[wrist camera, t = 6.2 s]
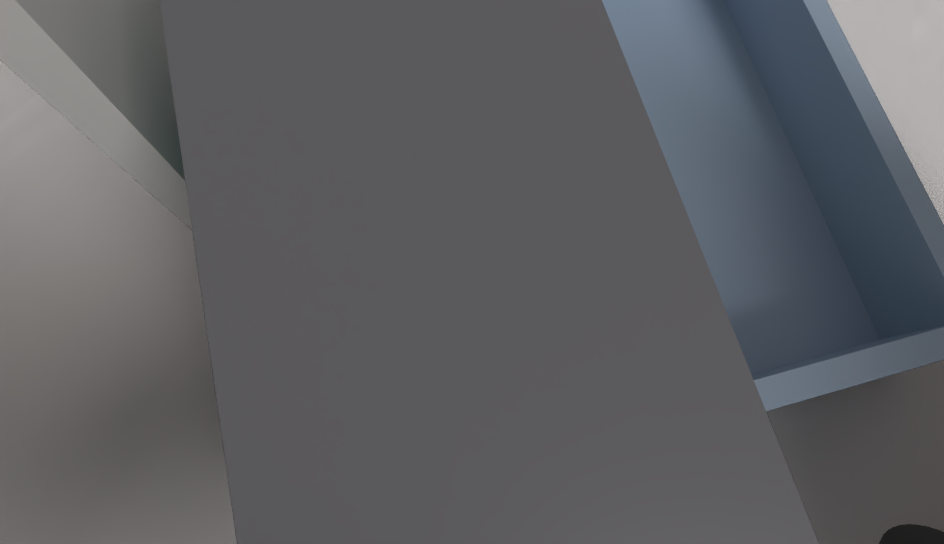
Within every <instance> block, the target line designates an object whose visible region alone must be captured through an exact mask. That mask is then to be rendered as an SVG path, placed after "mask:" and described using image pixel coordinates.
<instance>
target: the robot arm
mask: <svg viewBox="0 0 944 544" xmlns="http://www.w3.org/2000/svg"><path fill="white" fill-rule="evenodd" d="M879 544H944V532H942V531H940V530H937V529H934V528H930V527H927V526H921V525H911V524H907V525H899V526H896V527H893V528H891V529H889V530H888V531H887V532H886V533H885V534H884V535H883V537H882V539H881V541H880V543H879Z"/></svg>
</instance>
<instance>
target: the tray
mask: <svg viewBox="0 0 944 544" xmlns="http://www.w3.org/2000/svg"><path fill="white" fill-rule="evenodd" d="M602 2H603V4H604V7H605V9H606V12H607V14H608V17H609V19H610V22H611V24H612V27H613V29H614V32H615V34H616V37H617V39H618V42H619V44H620V47H621V49H622V52H623V54H624V57H625V59H626V62H627V64H628V67H629V69H630V72H631V74H632V77H633V79H634V82H635V84H636V87H637V89H638V92H639V94H640V97H641V99H642V102H643V104H644V107H645V109H646V112H647V114H648V117H649V119H650V122H651V124H652V127H653V129H654V132H655V135H656V137H657V140H658V142H659V145H660V147H661V150H662V152H663V155H664V157H665V160H666V162H667V165H668V167H669V170H670V172H671V175H672V177H673V180H674V182H675V185H676V187H677V190H678V192H679V195H680V197H681V200H682V202H683V205H684V207H685V210H686V212H687V215H688V217H689V220H690V222H691V225H692V227H693V230H694V232H695V235H696V237H697V240H698V242H699V245H700V247H701V250H702V252H703V255H704V257H705V260H706V262H707V265H708V267H709V270H710V272H711V275H712V277H713V280H714V282H715V285H716V287H717V290H718V292H719V295H720V297H721V300H722V302H723V305H724V307H725V310H726V312H727V315H728V317H729V320H730V322H731V325H732V327H733V330H734V332H735V335H736V337H737V340H738V342H739V345H740V347H741V350H742V352H743V355H744V357H745V360H746V362H747V365H748V367H749V370H750V372H751V375H752V377H753V380H754V382H755V385H756V387H757V390H758V392H759V395H760V397H761V400H762V402H763V405H764V407H765V410H766V411H769V410H773V409H776V408H780V407H783V406H787V405H790V404H793V403H797V402H800V401H804V400H807V399H811V398H814V397H818V396H821V395H824V394H828V393H831V392H835V391H838V390H842V389H845V388H848V387H852V386H855V385H859V384H862V383H866V382H869V381H872V380H876V379H879V378H883V377H886V376H890V375H893V374H896V373H900V372H903V371H907V370H910V369H914V368H917V367H921V366H924V365H927V364H931V363H934V362H938V361H941V360H944V225H943V223H942V221H941V219H940V217H939V215H938V213H937V211H936V209H935V208H934V206H933V204H932V202H931V200H930V198H929V196H928V194H927V192H926V190H925V188H924V186H923V185H922V183H921V181H920V179H919V177H918V175H917V173H916V171H915V169H914V167H913V165H912V163H911V162H910V160H909V158H908V156H907V154H906V152H905V150H904V148H903V146H902V144H901V142H900V140H899V138H898V137H897V135H896V133H895V131H894V129H893V127H892V125H891V123H890V121H889V119H888V117H887V115H886V114H885V112H884V110H883V108H882V106H881V104H880V102H879V100H878V98H877V96H876V94H875V92H874V91H873V89H872V87H871V85H870V83H869V81H868V79H867V77H866V75H865V73H864V71H863V69H862V67H861V66H860V64H859V62H858V60H857V58H856V56H855V54H854V52H853V50H852V48H851V46H850V44H849V43H848V41H847V39H846V37H845V35H844V33H843V31H842V29H841V27H840V25H839V23H838V21H837V20H836V18H835V16H834V14H833V12H832V10H831V8H830V6H829V4H828V2H827V0H602Z"/></svg>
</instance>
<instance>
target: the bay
mask: <svg viewBox="0 0 944 544" xmlns="http://www.w3.org/2000/svg"><path fill="white" fill-rule="evenodd" d="M0 61H2V62H3V63H4V64H5V65H6V66H7V67H8V68H9V69H11V70H12V71H13V72H14V73H15V74H16V75H17V76H18V77H20V78H21V79H22V80H23V81H24V82H25V83H26V84H28V85H29V86H30V87H31V88H32V89H33V90H34V91H35V92H37V93H38V94H39V95H40V96H41V97H42V98H43V99H44V100H46V101H47V102H48V103H49V104H50V105H51V106H52V107H54V108H55V109H56V110H57V111H58V112H59V113H60V114H61V115H63V116H64V117H65V118H66V119H67V120H68V121H69V122H70V123H72V124H73V125H74V126H75V127H76V128H77V129H78V130H80V131H81V132H82V133H83V134H84V135H85V136H86V137H87V138H89V139H90V140H91V141H92V142H93V143H94V144H95V145H96V146H98V147H99V148H100V149H101V150H102V151H103V152H104V153H106V154H107V155H108V156H109V157H110V158H111V159H112V160H113V161H115V162H116V163H117V164H118V165H119V166H120V167H121V168H122V169H124V170H125V171H126V172H127V173H128V174H129V175H130V176H132V177H133V178H134V179H135V180H136V181H137V182H138V183H139V184H141V185H142V186H143V187H144V188H145V189H146V190H147V191H148V192H150V193H151V194H152V195H153V196H154V197H155V198H156V199H158V200H159V201H160V202H161V203H162V204H163V205H164V206H165V207H167V208H168V209H169V210H170V211H171V212H172V213H173V214H174V215H176V216H177V217H178V218H179V219H180V220H181V221H182V222H184V223H185V224H186V225H187V226H188V227H189V228H190V229H191V230H192V225H191V218H190V211H189V204H188V197H187V190H186V183H185V176H184V169H183V162H182V155H181V148H180V141H179V134H178V127H177V120H176V113H175V106H174V99H173V92H172V85H171V78H170V71H169V64H168V57H167V50H166V43H165V36H164V29H163V22H162V15H161V8H160V1H159V0H0Z"/></svg>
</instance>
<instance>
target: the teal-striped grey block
mask: <svg viewBox="0 0 944 544" xmlns="http://www.w3.org/2000/svg"><path fill="white" fill-rule="evenodd" d="M159 1H160V8H161V15H162V22H163V29H164V36H165V43H166V50H167V57H168V64H169V71H170V78H171V85H172V92H173V99H174V106H175V113H176V120H177V127H178V134H179V141H180V148H181V155H182V162H183V169H184V176H185V183H186V190H187V197H188V204H189V211H190V218H191V225H192V232H193V239H194V246H195V253H196V260H197V267H198V274H199V281H200V288H201V295H202V302H203V309H204V316H205V323H206V330H207V337H208V344H209V351H210V358H211V365H212V372H213V379H214V386H215V393H216V400H217V407H218V414H219V421H220V427H221V434H222V441H223V448H224V455H225V462H226V469H227V476H228V483H229V490H230V497H231V504H232V511H233V518H234V525H235V532H236V539H237V544H819V542H818V540H817V537H816V535H815V532H814V530H813V527H812V525H811V522H810V520H809V517H808V515H807V512H806V510H805V507H804V505H803V502H802V500H801V497H800V495H799V492H798V490H797V487H796V485H795V482H794V480H793V477H792V475H791V472H790V470H789V467H788V465H787V462H786V460H785V457H784V455H783V452H782V450H781V447H780V445H779V442H778V440H777V437H776V435H775V432H774V430H773V427H772V425H771V422H770V420H769V417H768V415H767V412H766V410H765V407H764V405H763V402H762V400H761V397H760V395H759V392H758V390H757V387H756V385H755V382H754V380H753V377H752V375H751V372H750V370H749V367H748V365H747V362H746V360H745V357H744V355H743V352H742V350H741V347H740V345H739V342H738V340H737V337H736V335H735V332H734V330H733V327H732V325H731V322H730V320H729V317H728V315H727V312H726V310H725V307H724V305H723V302H722V300H721V297H720V295H719V292H718V290H717V287H716V285H715V282H714V280H713V277H712V275H711V272H710V270H709V267H708V265H707V262H706V260H705V257H704V255H703V252H702V250H701V247H700V245H699V242H698V240H697V237H696V235H695V232H694V230H693V227H692V225H691V222H690V220H689V217H688V215H687V212H686V210H685V207H684V205H683V202H682V200H681V197H680V195H679V192H678V190H677V187H676V185H675V182H674V180H673V177H672V175H671V172H670V170H669V167H668V165H667V162H666V160H665V157H664V155H663V152H662V150H661V147H660V145H659V142H658V140H657V137H656V135H655V132H654V129H653V127H652V124H651V122H650V119H649V117H648V114H647V112H646V109H645V107H644V104H643V102H642V99H641V97H640V94H639V92H638V89H637V87H636V84H635V82H634V79H633V77H632V74H631V72H630V69H629V67H628V64H627V62H626V59H625V57H624V54H623V52H622V49H621V47H620V44H619V42H618V39H617V37H616V34H615V32H614V29H613V27H612V24H611V22H610V19H609V17H608V14H607V12H606V9H605V7H604V4H603V2H602V0H159Z"/></svg>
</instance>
